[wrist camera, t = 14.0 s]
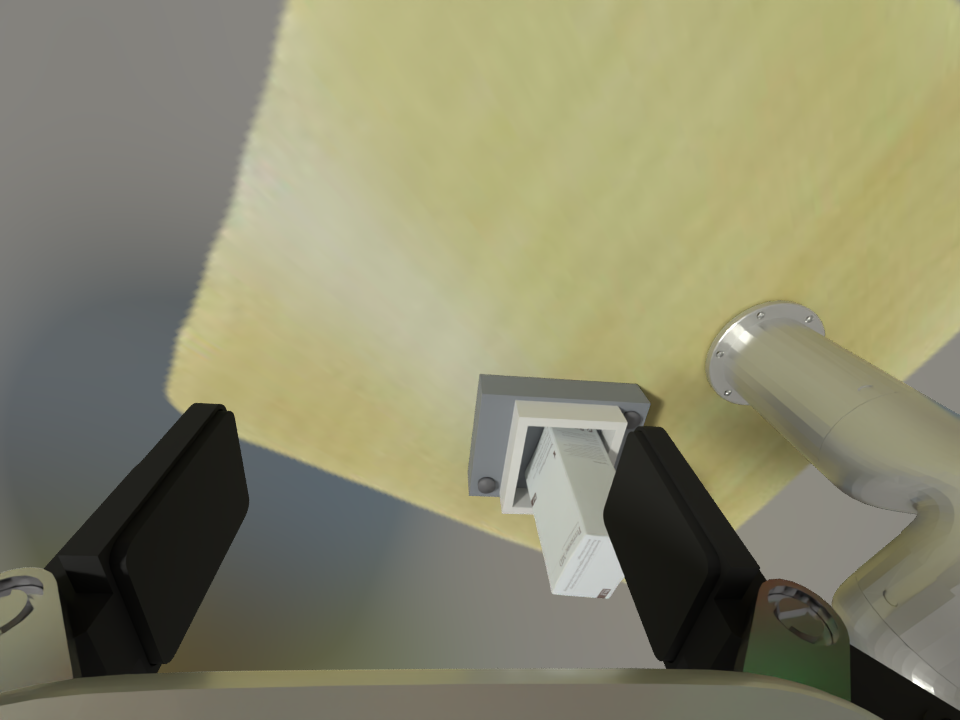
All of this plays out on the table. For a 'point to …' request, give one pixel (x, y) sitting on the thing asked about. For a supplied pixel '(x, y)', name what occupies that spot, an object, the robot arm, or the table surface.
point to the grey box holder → (541, 427)
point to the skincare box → (573, 511)
